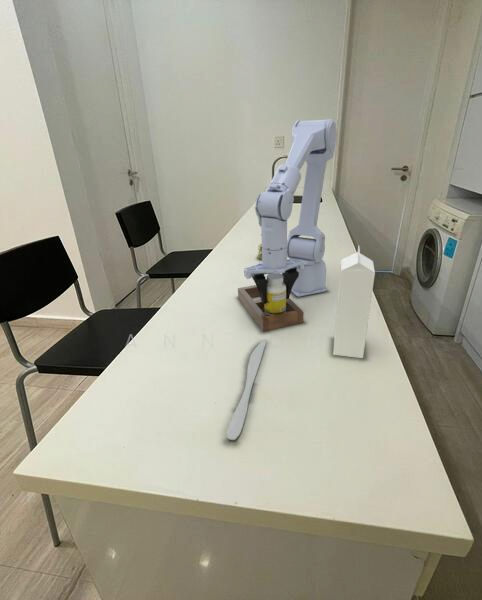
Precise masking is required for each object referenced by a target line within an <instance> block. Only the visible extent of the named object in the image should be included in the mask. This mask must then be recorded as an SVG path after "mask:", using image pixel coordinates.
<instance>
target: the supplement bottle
mask: <svg viewBox="0 0 482 600" xmlns="http://www.w3.org/2000/svg"><path fill="white" fill-rule="evenodd" d="M266 280H267V281H268V284H267V303H266V304H264V309H265V311H264V314H265V315H266V316H272V315H277V314H282V313H286V285H285V284H284V283H283V275H282V273H280V274H277V273H270V274H266Z"/></svg>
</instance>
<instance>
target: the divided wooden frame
mask: <svg viewBox="0 0 482 600" xmlns="http://www.w3.org/2000/svg"><path fill="white" fill-rule="evenodd" d="M257 297H260V293H259V290H258V288H257V286H256V284H253V285H249V286H243V287H238V288H237V298H238V299H239V301H240V302H241V303H242V305H243V307H244V308H245V309H246V310H247V312H248V313H249V314H250V316H251V317H252V319H253V320H254V321H255V323H256V324H257V325H258V327H259V328H260V330H261V331H262V332H267V331H268V332H269V331H273V330H277V329H281V328H282V329H283V328H285V327H290V326H294V325H299V324H303V323H304V311H303V310H302V309H301V308H300V307H299V306H298V305H297V304H296V303H295V302H294V301H293V300H292V299H291V298H289V299H286V312H285V313H282V314H277V315H272V316H269V315H266V313H265V309H264V303H263V302H262V301H261V298H260V299H255V300H254V299H253V298H257Z"/></svg>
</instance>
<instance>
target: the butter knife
mask: <svg viewBox="0 0 482 600" xmlns="http://www.w3.org/2000/svg"><path fill="white" fill-rule="evenodd" d="M266 344H267V341H266V340H261V341H260V342H259V344H257V346H256V347H255V348H254V350H253V351H252V353H251V354H250V356H249V361H248V365H247V372H246V380H245V386H244V390H243V393H242V396H241V398H240V401H239V402H238V405H237V407H236V408H235V411H234V413H233V415H232V418H231V419H230V422H229V425H228V428H227V431H226V438H227V439H228V440H229V441H236V439H237V438H238V437H239V436H240V435H241V432H242V429H243V426H244V423H245V419H246V416H247V412H248V407H249V401H250V395H251V391H252V388H253V384H254V381H255V379H256V376H257V373H258V370H259V367H260V365H261V364H260V363H261V361H262V358H263V357H262V356H263V354H264V350H265V347H266Z"/></svg>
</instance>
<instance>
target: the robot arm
mask: <svg viewBox="0 0 482 600" xmlns="http://www.w3.org/2000/svg"><path fill="white" fill-rule="evenodd" d="M337 139H338V130H337V124H336V121H335V120H334V118H329V119H317V120H316V119H314V120H312V119H311V120H299V119H298V120H296V121H295V122H294V124H293V126H292V130H291V148H290V150H289V152H288V155H287V157H286V158H287V159H286V161H285V163H282V164H280V165H279V166H278V167H277V169H276V170H275V173H274V175H273V177H272V178H271V181H270V183H269V185H268V187H267V188H266V190H265V191H262V192H261V193H259V194H258V196H257V198H256V202H255V207H254V209H255V215H256V216H257V219H258V225H259V227H260V228H261V229H260V231H261V234H260V236H261V235H262V236H261V244H262V260H261V262H260V263H257V264H254V265H251V266H248V267H244V268H243V275H244V277H245V278H246V279H247V280H248V279H249V280H250V279H252V280H253V282H254V283H255V284H254V285H256V286H257V288H258V290H259V293H260V296H259V297H260V299H261V301H262V302H263V303H264V304H266V303H267V284H268V281H267V278H266V275H268V274H270V273H277V274H282V275H283V283H284V284H285V285H286V299H290V297H291V293H292V294H294V295H295V296H296V297H298V298H299V297H305V296H309V295H315V294H320V293H323V292H327V288H326V281H327V280H326V279H327V266H326V262H325V261H324V259H323V258H324V255H325V252H326V245H325V244H326V236H325V233H324V232H323V231H322V230H321V229H320V228H319V227H318V219H319V213H320V206H321V200H322V193H323V188H324V179H325V176H326V175H325V174H326V168H327V164H328V162H329V161H330V160H332V159H333V158H334V154H335V149H336V145H337V144H336V143H337ZM305 163H306V170H305V176H304V184H303V191H302V198H301V204H300V212H299V219H298V225H297V226H295V227H293V228H292V229H291V230H289V231H288V219H290V217H291V215H292V211H293V205H294V201H295V198H294V195H295V193H296V190H297V189H298V186H299V185H300V182H301V179H302V174H301V169H302V168H303V166H304V164H305ZM288 232H289V233H288ZM305 236H306V237H305ZM311 237H312V238H311Z"/></svg>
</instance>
